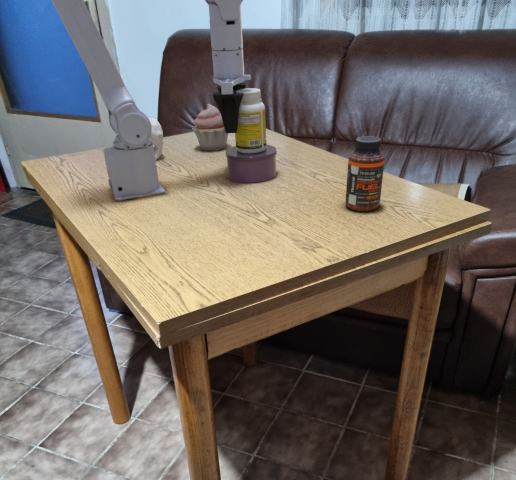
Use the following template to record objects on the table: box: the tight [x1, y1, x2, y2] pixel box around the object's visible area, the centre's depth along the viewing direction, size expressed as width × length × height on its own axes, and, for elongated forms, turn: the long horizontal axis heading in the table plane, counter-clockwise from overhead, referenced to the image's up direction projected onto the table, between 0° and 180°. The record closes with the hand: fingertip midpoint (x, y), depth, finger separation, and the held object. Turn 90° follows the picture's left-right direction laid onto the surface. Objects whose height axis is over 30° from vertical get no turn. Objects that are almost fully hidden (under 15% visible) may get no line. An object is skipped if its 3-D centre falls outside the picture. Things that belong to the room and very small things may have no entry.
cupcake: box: [191, 103, 229, 152], centre depth 123 cm, size 9×9×10 cm
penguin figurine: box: [148, 117, 164, 161], centre depth 118 cm, size 6×8×12 cm
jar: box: [225, 144, 278, 184], centre depth 105 cm, size 10×10×5 cm
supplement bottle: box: [345, 135, 385, 212], centre depth 86 cm, size 6×6×11 cm
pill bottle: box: [234, 87, 267, 154], centre depth 101 cm, size 6×6×11 cm
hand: (232, 128), depth 102 cm, fingers open, 7 cm apart
